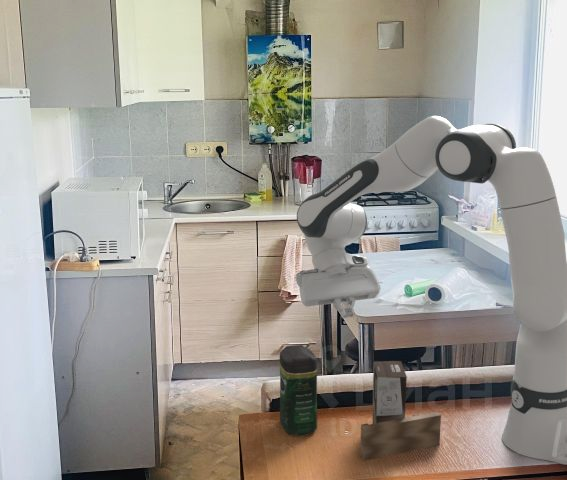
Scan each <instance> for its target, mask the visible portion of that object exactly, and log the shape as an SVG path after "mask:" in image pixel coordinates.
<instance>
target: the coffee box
mask: <svg viewBox="0 0 567 480" xmlns="http://www.w3.org/2000/svg"><path fill="white" fill-rule="evenodd" d="M372 371H373V374H372V375H373V376H372V423H371V424H375V423H380V422H386V421H391V420H397V419H402V418H406V404H407V403H406V400H407V380H408V379H407V378H408V376H407V374H406V371H405V368H404V365H403V363H402V361H401V360H397V361H396V360H389V361H386V360H383V361H379V360H378V361H376V360H375V361H373V370H372Z"/></svg>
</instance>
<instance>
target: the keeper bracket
mask: <svg viewBox="0 0 567 480" xmlns="http://www.w3.org/2000/svg"><path fill="white" fill-rule="evenodd" d="M441 425H442V415H441V413H439V412H438V411H436V412H431V413H425V414H420V413H418V414H413V415H412V416H408V417H405V418H402V419H397V420H391V421H386V422H380V423H375V424H372V423H371V424H370V423H364V424H363V423H362V424H361V425H360V426H361V427H360V458H361V459H362V460H363V461H367V460H372V459H377V458H381V457H382V458H384V457H389V456H392V455H397V454H402V453H407V452H411V451H417V450H421V449H427V448H431V447H437V446H440V444H441Z"/></svg>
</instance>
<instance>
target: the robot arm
mask: <svg viewBox="0 0 567 480" xmlns="http://www.w3.org/2000/svg"><path fill="white" fill-rule="evenodd" d="M438 170H439V172H440V173H441V174H442V175H443V176H444V177H446V178H447V179H450V180H452V181H457V182H461V183H473V184H485V183H486V182H488V183H490V184H491V185H492V186H493V188H494V190H495V194H496V196H497V202H498V206H499V211H500V215H501V219H502V224H503V227H504V228H503V229H504V233H505V236H506V237H505V238H506V243H507V249H508V257H509V258H508V259H509V260H508V261H509V272H510V282H511V291H512V309H513V314H514V316H515V317H516V319H517V320H518V322H519V323H520V325H519V330H518V335H517V338H516V344H515V346H516V347H515V355H514V356H515V358H514V359H515V361H514V371H513V376H512V377H511V382H510V383H511V384H510V407H509V411H508V416H507V420H506V423H505V427H504V430H503V432H502V434H501V440H502V442H503V444H504V445H505V446H506V447H508V448H509V449H510V450H511V451H513V452H515V453H517V454H520V455H522V456H525V457H529V458H533V459H537V460H538V459H539V460H545V461H550V462H553V463H557V464H560V465H566V466H567V253H566V239H565V238H566V235H565V230H564V226H563V222H562V216H561V212H560V207H559V203H558V198H557V194H556V190H555V186H554V183H553V179H552V176H551V173H550V171H549V168H548V167H547V164H546V162H545V159H544V157H543V155H542V154H541V153H540V152H539V151H538V150H536V149H534V148H530V147H517V142H516V138H515V137H514V134H512V132H511V131H510V130H509V129H508V128H507V127H504V126H502V125H500V124H495V123H484V124H471V125H469V126H466V127H465V126H464V127H463V128H459V129H457V128H456V127H455V126H454V125H453V124H452V123H451V122H450V121H449V120H447V119H446V118H444V117H441V116H439V115H432V116H428V117H425V118H424V119H422V120H421V121H419V122H417V124H416V123H415V125H413V126H412V127H410V128H409V129H408V130H407V131H406V132H404V133H403V134H402V135H401V136H400V137H399V138H397V140H396V141H394V142H393V143H392V144H391V145H390V146H387V148H385V149H384V150H382V151H381V152H379V153H378V154H377V153H376V155H374V156H372V157H370V158H368V159H365V160H363V161H362V162H361V161H360V162H359V163H357V164H356V165H354V166H353V167H352V168H350V169H349V170H348V171H346V172H345V173H344V174H342V175H341V176H339V178H337V179H336V180H334V181H333V182H332V183H331V184H329V185H328V186H327V187H325V188H324V189H322V190H321V191H319V192H318V193H317V192H316V193H314V194H311V195H309V196H307V197H306V198H305V199H304V200H303V201H302V202H301V204H300V205H299V207H298V209H297V212H296V222H297V224H298V228H299V229H300V231H301V232H302V233H303V236H304V239H305V244H306V246H307V249H308V251H309V252H310V254H311V262H312V265H313V268H314V269H308V270H305V269H304V270H299V272H298V273H296V274H295V277H294V278H295V282H296V284H297V286H298V287H299V295H300V301H301V303H302V305H303V306H305V307H315V306H316V307H317V306H322V305H323V306H325V305H329V304H332V305H333V308H334V309H335V310H336V311H338V312H339V313H340V316H341V319H346V318H347V319H348V318H353V317H354V316H355V315H356V313H355V309H354V307H355V303H356V301H362V300H370V299H376V298H378V297H377V296H378V295H379V294H380V292H381V289H382V288H381V285H380V282H379V279H378V277H377V274H376V273H375V272H374V270H373V269H372V267H370V266H369V260H368V258H367V257H366V256H362V255H356V254H351V253H348V252H347V251H346V249H345V248H346V246H350V245H352V244H354V243H355V242H357V241H358V240H359V239H361V237H362V236H363V235H364V234H365V232H366V230H367V226H368V217H367V213H366V211H365V209H364V208H363V207H362V206H361V205H359V204H356V203H353V201H354V200H356V199H357V198H359V197H361V196H363V195H367V194H372V193H405V192H409V191H411V190H413V189H415V188H417V187H419V186H420V185H422V184H423V183H424V182H425V181H427V180H428V179H429V178H430V177H431V176H433V174H435V173H436V172H437V171H438ZM345 302H346V304H347V306H348V307H347V308H345V307H344V306H343V305H342V304H341V303H345Z"/></svg>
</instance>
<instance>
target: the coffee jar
mask: <svg viewBox="0 0 567 480" xmlns="http://www.w3.org/2000/svg"><path fill="white" fill-rule="evenodd" d="M279 380H280V381H279V386H280V387H279V396H280V397H279V420H280V421H279V423H280V425H281V428H282V429H283V431H284V432H286V434H288V435H292V436H298V437H299V436H307V435H309V434H312V433H314V432H316V431H317V429H318V408H317V407H318V390H317V389H318V386H317V385H318V358H317V356H316V355H315V353H313V351H312V350H311V349H309V348H307V347H305V346H304V345H301V344H298V345H295V344H294V345H287V346H285V347H284V348H283V349H282V350H280V353H279Z"/></svg>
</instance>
